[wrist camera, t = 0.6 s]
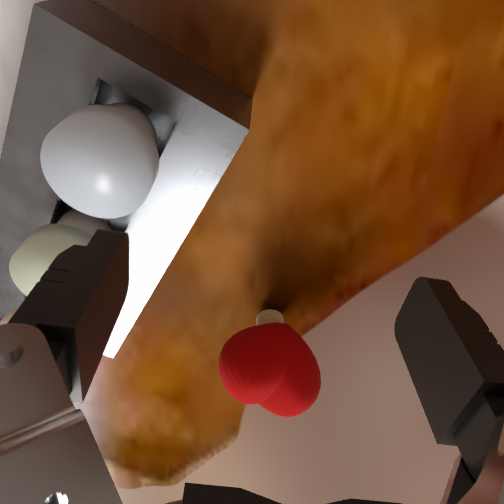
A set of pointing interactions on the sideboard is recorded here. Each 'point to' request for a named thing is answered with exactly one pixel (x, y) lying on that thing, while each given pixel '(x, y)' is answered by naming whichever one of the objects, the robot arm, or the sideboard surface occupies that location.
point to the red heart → (270, 367)
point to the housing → (104, 93)
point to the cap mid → (51, 246)
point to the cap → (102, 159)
